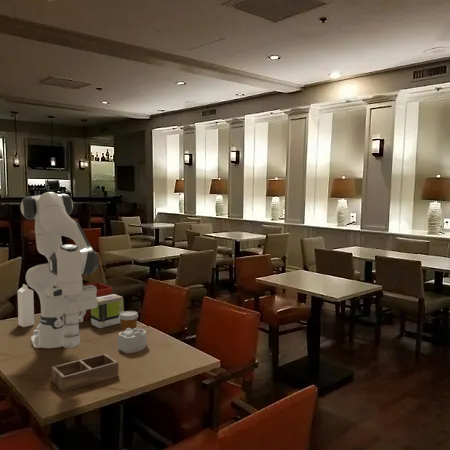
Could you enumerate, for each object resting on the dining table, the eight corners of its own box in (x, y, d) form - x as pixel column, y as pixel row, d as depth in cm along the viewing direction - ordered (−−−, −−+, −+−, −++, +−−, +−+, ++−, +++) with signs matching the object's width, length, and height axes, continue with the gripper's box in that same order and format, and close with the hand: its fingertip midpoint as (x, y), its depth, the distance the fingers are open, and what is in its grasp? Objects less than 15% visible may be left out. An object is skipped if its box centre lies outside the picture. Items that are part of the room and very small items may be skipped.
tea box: (115, 318, 249) (115, 293, 247) (124, 323, 241) (124, 296, 240) (90, 324, 238) (90, 297, 237) (99, 328, 231) (98, 301, 230)
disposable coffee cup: (132, 341, 213) (132, 317, 212) (115, 338, 217) (115, 315, 215) (142, 334, 222) (141, 311, 221) (125, 332, 226) (125, 309, 224)
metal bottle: (64, 344, 170) (64, 294, 168) (82, 344, 171) (81, 294, 169) (59, 350, 164) (58, 298, 162) (78, 350, 164) (77, 298, 162)
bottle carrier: (51, 381, 169) (51, 367, 169) (105, 366, 184) (104, 353, 183) (63, 392, 160) (62, 377, 160) (118, 375, 175) (118, 362, 174)
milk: (23, 327, 232) (21, 286, 230) (18, 324, 236) (16, 284, 234) (34, 324, 236) (33, 284, 234) (29, 322, 240) (28, 282, 238)
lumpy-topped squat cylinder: (115, 348, 204) (115, 330, 203) (138, 341, 213) (138, 324, 213) (128, 354, 197) (128, 335, 196) (151, 346, 206) (151, 329, 205)
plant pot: (99, 308, 268) (98, 281, 266) (113, 316, 253) (112, 287, 252) (68, 314, 255) (67, 286, 254) (81, 322, 241) (80, 292, 239)
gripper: (93, 282, 174) (93, 316, 176) (40, 290, 161) (41, 326, 162) (99, 285, 170) (100, 320, 171) (45, 293, 156) (46, 331, 158)
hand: (71, 323), depth 166 cm, fingers closed on metal bottle, 6 cm apart
